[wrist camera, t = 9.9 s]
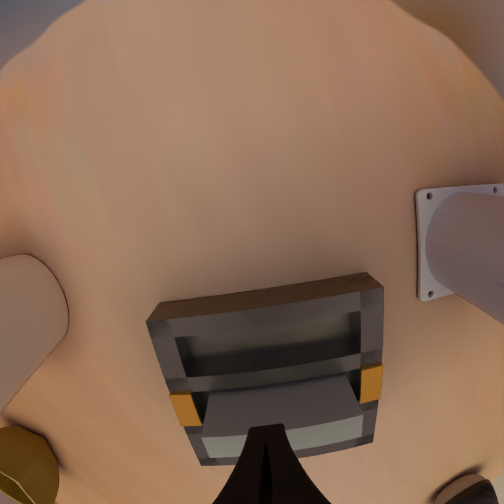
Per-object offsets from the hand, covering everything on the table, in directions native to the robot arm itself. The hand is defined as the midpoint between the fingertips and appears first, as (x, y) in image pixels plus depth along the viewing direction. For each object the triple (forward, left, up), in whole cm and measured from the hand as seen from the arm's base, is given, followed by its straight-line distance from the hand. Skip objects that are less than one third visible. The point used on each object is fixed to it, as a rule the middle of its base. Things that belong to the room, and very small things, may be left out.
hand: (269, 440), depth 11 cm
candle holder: (+19, -4, -10) cm, 22 cm away
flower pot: (+31, +15, -10) cm, 35 cm away
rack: (0, +4, -10) cm, 11 cm away
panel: (0, +4, -9) cm, 10 cm away
